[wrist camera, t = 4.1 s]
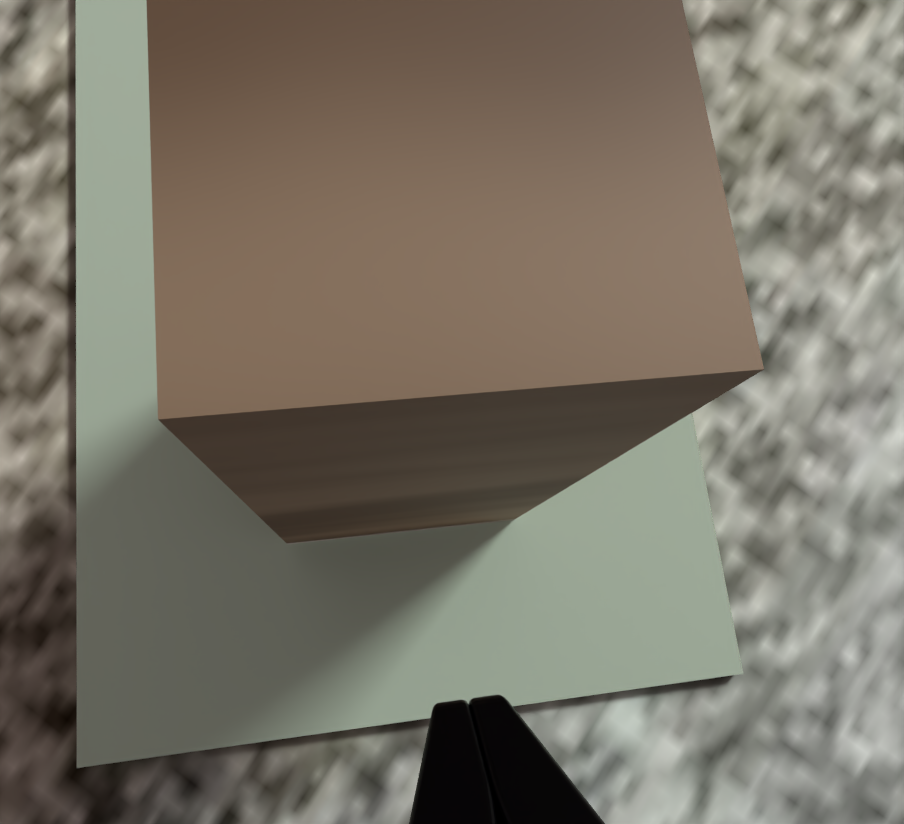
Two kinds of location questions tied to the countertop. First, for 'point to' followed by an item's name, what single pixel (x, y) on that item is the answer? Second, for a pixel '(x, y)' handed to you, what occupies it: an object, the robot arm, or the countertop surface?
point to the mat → (330, 561)
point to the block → (432, 251)
